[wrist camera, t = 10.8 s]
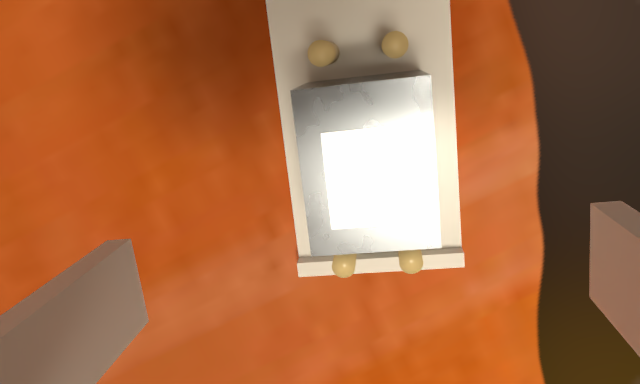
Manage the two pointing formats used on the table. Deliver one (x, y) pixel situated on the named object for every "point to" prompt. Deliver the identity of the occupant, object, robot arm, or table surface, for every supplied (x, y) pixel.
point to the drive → (368, 163)
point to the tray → (362, 60)
